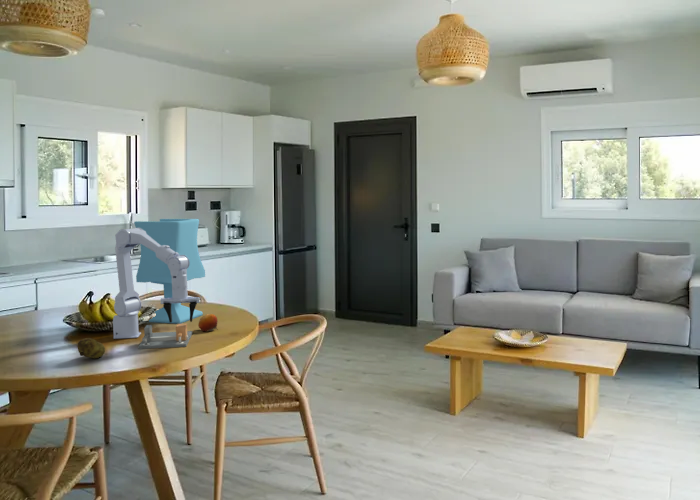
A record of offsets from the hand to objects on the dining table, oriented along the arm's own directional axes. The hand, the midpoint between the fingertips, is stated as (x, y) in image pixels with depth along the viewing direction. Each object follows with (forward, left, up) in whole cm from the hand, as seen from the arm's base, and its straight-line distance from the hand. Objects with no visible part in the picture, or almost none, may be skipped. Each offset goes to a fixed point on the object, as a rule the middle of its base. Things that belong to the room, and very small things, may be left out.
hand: (181, 321), depth 255 cm
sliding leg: (0, -2, -7) cm, 7 cm away
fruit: (+9, +19, -8) cm, 22 cm away
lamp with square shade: (-9, +47, -8) cm, 49 cm away
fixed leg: (-12, -2, -7) cm, 14 cm away
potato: (-28, -19, -8) cm, 35 cm away
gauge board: (-6, +3, -8) cm, 11 cm away
